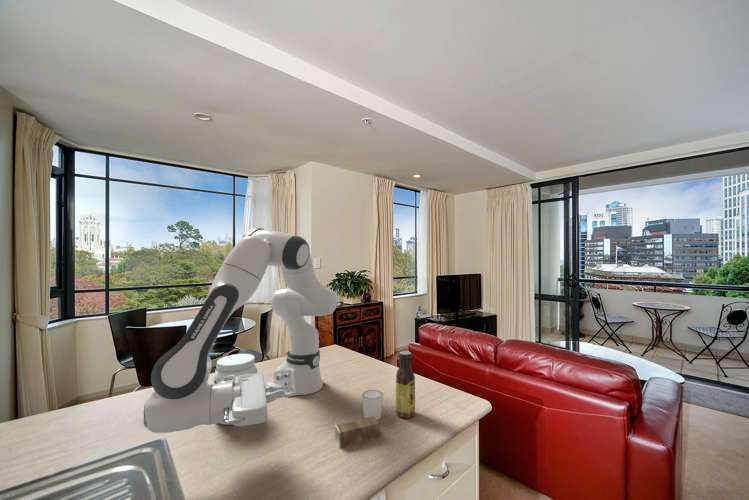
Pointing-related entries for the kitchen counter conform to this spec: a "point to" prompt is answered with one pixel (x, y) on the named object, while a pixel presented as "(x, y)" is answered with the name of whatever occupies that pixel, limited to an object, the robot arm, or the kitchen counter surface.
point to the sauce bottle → (405, 387)
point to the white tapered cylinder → (372, 403)
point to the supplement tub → (234, 367)
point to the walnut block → (357, 431)
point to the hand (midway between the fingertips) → (284, 391)
